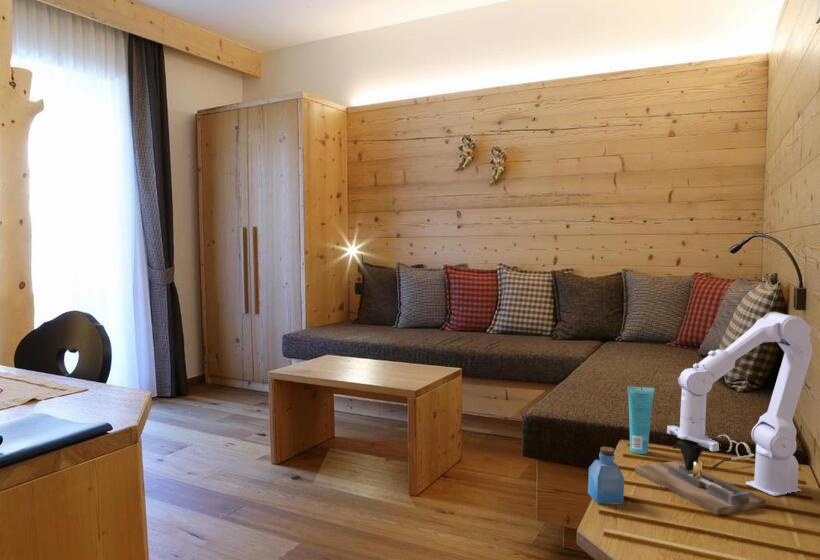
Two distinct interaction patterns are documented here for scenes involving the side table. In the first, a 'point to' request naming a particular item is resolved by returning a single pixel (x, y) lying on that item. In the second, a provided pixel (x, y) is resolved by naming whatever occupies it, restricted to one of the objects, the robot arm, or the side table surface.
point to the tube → (640, 417)
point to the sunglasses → (730, 449)
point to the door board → (700, 488)
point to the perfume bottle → (606, 479)
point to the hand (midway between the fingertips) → (690, 469)
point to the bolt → (698, 475)
